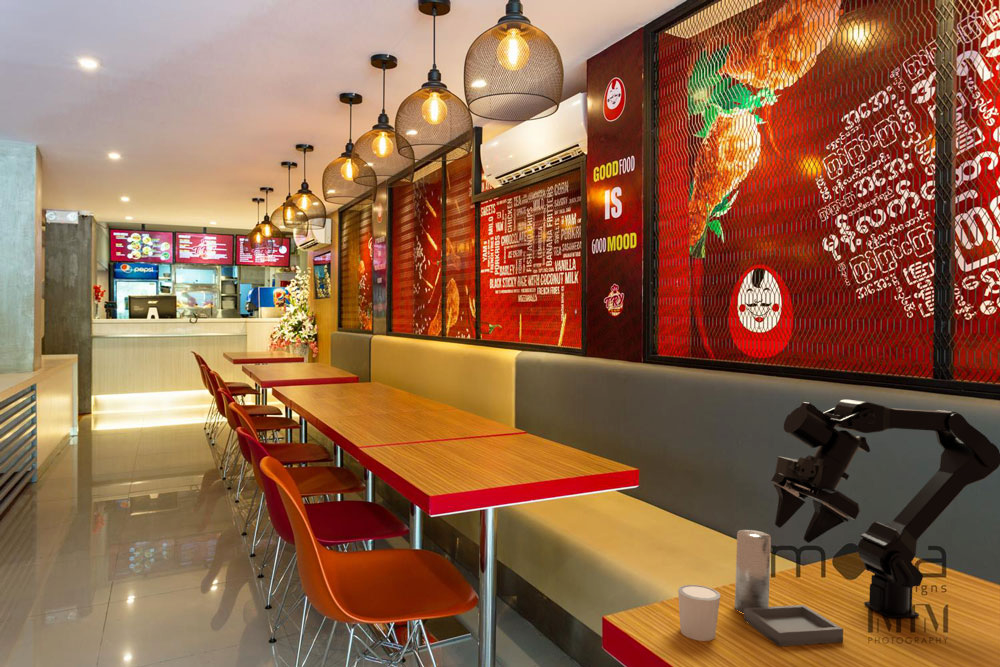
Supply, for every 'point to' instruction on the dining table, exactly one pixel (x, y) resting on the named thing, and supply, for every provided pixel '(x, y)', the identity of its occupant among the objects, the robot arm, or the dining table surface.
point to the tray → (793, 625)
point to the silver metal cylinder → (752, 569)
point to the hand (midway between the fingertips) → (791, 533)
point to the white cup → (698, 611)
